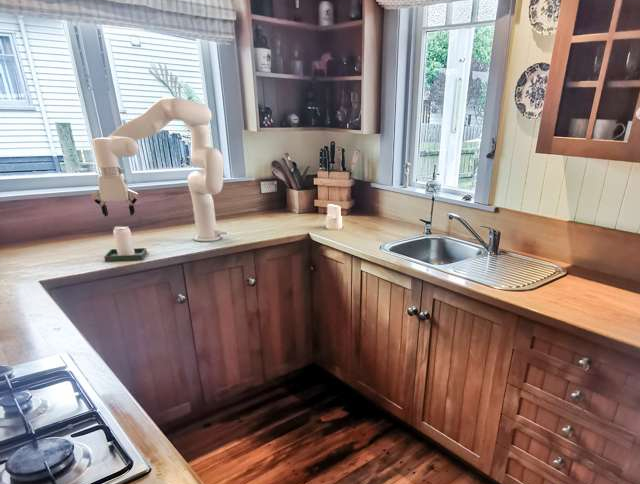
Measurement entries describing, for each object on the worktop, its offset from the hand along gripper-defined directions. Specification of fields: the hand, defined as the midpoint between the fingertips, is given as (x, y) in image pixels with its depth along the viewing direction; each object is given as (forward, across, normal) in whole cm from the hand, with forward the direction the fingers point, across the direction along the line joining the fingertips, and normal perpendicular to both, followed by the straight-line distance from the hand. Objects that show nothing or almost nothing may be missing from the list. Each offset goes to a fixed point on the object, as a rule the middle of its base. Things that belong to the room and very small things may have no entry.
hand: (119, 215), depth 190 cm
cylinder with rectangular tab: (+20, -96, -42) cm, 107 cm away
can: (+17, +1, +1) cm, 17 cm away
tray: (+18, +1, +1) cm, 18 cm away
